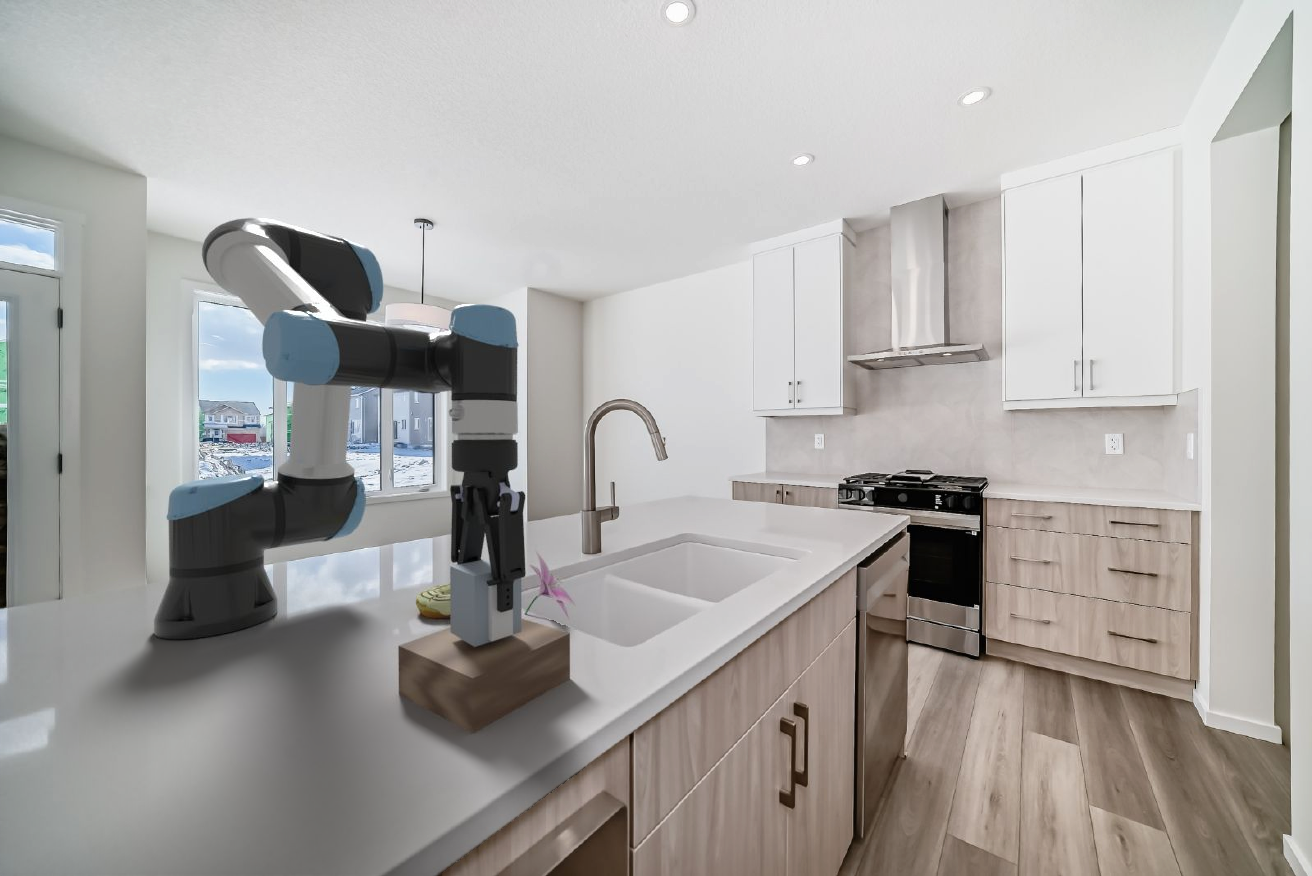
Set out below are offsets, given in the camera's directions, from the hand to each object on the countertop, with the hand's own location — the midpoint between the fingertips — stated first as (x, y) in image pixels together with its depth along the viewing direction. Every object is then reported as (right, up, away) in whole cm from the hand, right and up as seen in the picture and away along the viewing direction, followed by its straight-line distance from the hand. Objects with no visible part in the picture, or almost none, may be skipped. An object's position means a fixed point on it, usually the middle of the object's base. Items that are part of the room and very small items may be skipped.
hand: (486, 629), depth 62 cm
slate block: (0, 0, 0) cm, 0 cm away
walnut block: (0, -7, 0) cm, 7 cm away
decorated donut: (-15, -7, +27) cm, 31 cm away
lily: (+3, -7, +25) cm, 26 cm away
